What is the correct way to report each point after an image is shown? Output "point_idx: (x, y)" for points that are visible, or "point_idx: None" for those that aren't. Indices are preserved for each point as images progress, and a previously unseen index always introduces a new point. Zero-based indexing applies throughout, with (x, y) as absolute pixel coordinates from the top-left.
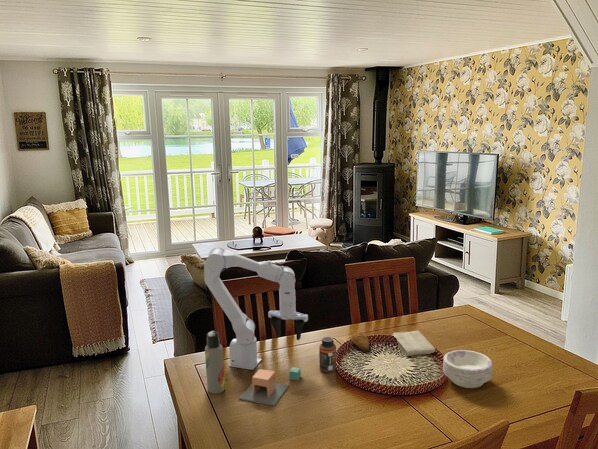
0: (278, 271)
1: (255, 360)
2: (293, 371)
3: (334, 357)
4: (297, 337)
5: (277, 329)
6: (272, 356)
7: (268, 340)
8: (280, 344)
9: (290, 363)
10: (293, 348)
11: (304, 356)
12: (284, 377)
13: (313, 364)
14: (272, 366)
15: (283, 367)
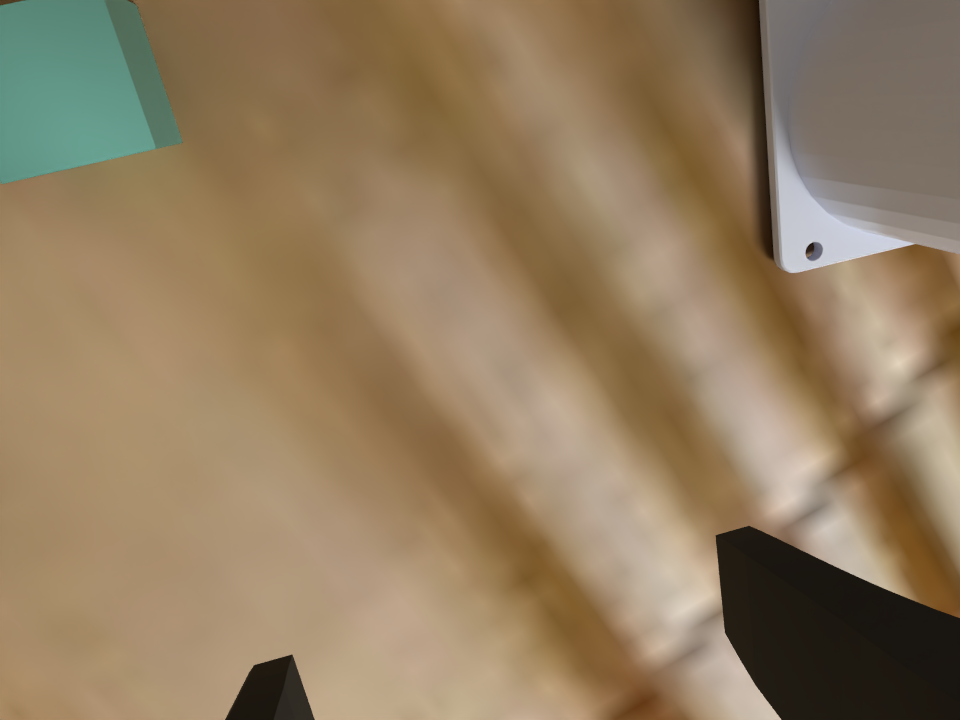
0: None
1: (823, 105)
2: (28, 19)
3: None
4: (252, 700)
5: (849, 644)
6: (701, 418)
7: None
8: None
9: (404, 393)
10: (578, 688)
11: (353, 619)
12: (237, 14)
13: (121, 527)
14: (569, 205)
15: (423, 258)
